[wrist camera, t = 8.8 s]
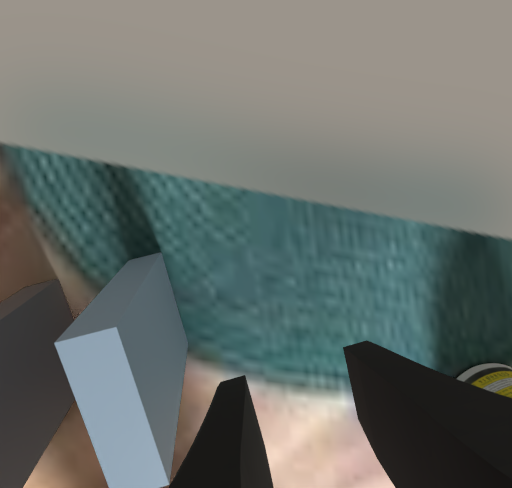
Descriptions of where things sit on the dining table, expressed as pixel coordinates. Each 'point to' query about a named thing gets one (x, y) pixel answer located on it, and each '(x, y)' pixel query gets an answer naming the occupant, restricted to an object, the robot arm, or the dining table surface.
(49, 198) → the dining table surface
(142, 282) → the slate domino
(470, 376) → the supplement bottle
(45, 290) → the domino
